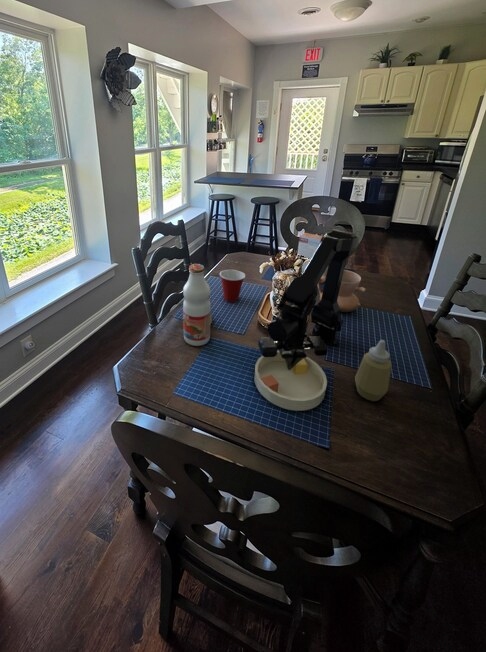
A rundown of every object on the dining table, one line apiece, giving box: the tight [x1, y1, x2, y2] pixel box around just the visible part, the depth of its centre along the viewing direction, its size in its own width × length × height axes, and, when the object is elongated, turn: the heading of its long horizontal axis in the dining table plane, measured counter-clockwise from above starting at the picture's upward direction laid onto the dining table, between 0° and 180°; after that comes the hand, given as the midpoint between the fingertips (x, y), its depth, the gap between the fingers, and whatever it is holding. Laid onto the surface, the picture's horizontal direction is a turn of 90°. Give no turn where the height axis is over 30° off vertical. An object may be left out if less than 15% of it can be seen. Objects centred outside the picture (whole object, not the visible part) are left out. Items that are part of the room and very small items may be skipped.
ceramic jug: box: [317, 269, 366, 313], centre depth 129 cm, size 18×14×14 cm
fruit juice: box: [182, 263, 212, 347], centre depth 108 cm, size 9×9×28 cm
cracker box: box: [297, 232, 328, 284], centre depth 152 cm, size 14×6×21 cm, turn 46°
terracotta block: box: [261, 375, 279, 393], centre depth 90 cm, size 4×4×4 cm
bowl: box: [253, 350, 328, 412], centre depth 93 cm, size 20×20×4 cm
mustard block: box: [292, 358, 308, 374], centre depth 97 cm, size 4×4×4 cm
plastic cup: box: [219, 269, 246, 303], centre depth 136 cm, size 11×11×12 cm
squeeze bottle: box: [354, 339, 392, 402], centre depth 86 cm, size 8×8×18 cm
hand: (288, 369), depth 97 cm, fingers closed
